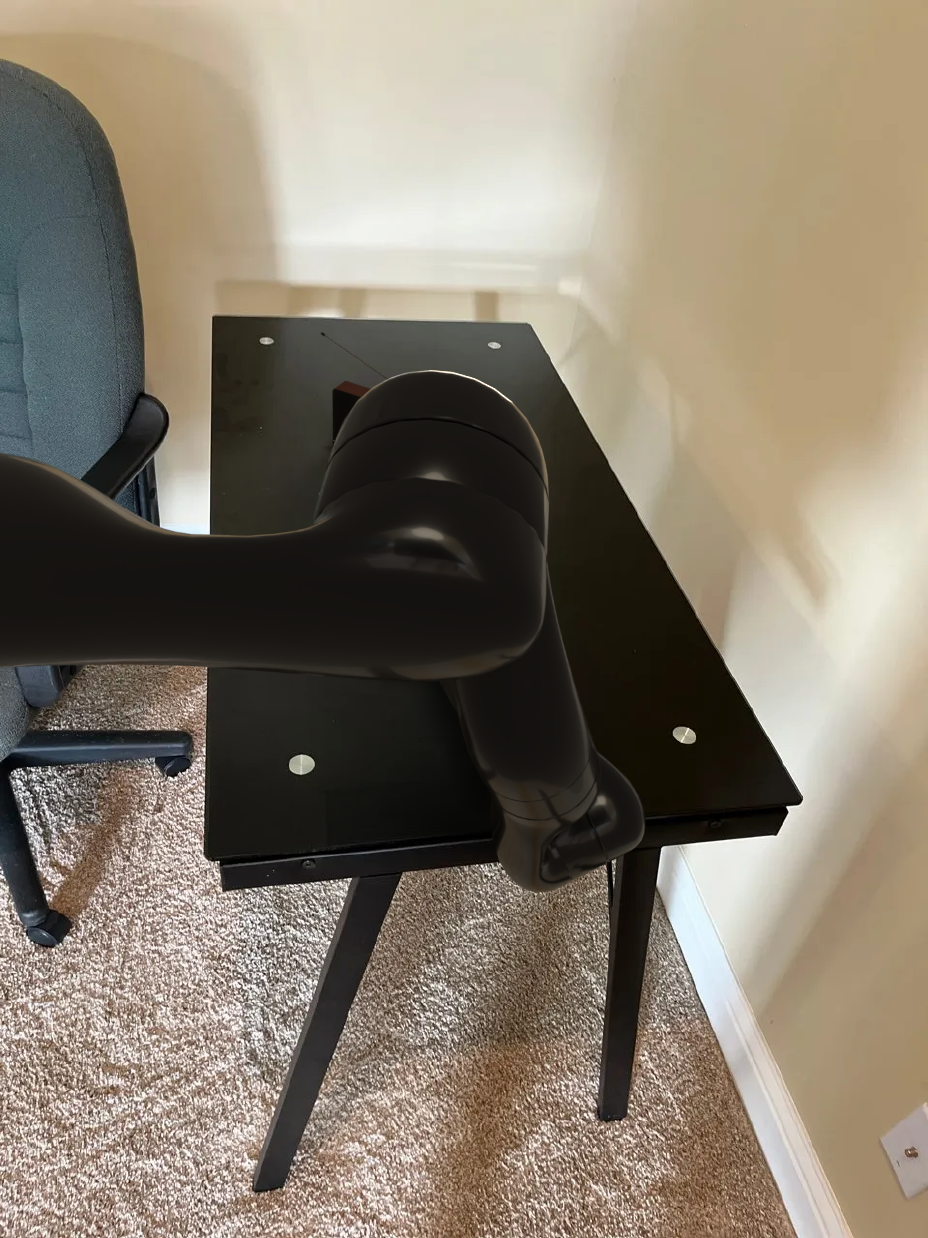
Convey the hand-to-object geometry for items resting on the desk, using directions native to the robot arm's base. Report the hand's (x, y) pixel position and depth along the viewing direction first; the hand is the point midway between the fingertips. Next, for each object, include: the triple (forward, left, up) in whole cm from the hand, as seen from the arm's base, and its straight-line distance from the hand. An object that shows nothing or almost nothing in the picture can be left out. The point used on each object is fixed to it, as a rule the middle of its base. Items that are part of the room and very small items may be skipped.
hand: (420, 545), depth 79 cm
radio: (+22, +22, -10) cm, 33 cm away
